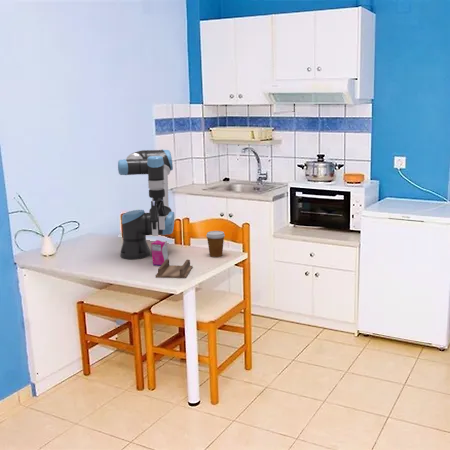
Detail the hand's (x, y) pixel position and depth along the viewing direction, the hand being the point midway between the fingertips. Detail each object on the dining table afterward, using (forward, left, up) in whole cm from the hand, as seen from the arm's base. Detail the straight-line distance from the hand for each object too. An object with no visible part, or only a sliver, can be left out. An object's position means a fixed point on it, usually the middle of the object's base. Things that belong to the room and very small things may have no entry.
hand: (158, 232), depth 272 cm
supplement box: (0, 0, -16) cm, 16 cm away
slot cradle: (+10, -13, -16) cm, 23 cm away
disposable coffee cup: (+25, +17, -16) cm, 34 cm away
